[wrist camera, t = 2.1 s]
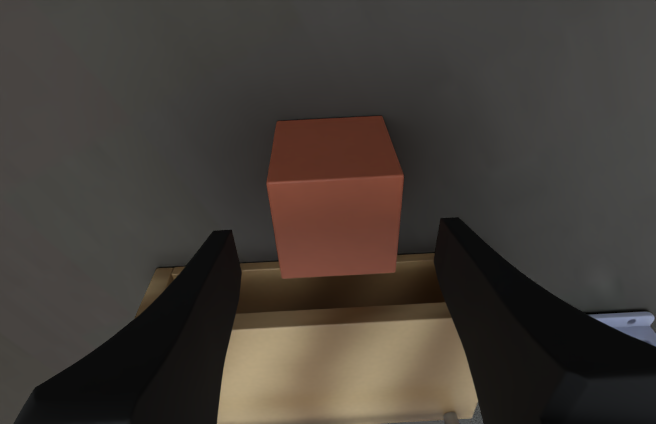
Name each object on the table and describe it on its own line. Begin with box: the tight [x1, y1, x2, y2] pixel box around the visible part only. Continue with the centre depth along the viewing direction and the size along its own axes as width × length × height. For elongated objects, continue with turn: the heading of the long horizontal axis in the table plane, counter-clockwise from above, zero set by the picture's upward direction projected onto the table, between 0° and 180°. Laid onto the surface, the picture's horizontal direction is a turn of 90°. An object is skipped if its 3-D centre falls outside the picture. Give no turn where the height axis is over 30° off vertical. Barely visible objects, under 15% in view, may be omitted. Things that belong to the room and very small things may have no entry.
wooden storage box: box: [135, 253, 478, 424], centre depth 22 cm, size 18×10×6 cm, turn 92°
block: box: [266, 116, 404, 279], centre depth 16 cm, size 5×5×5 cm
